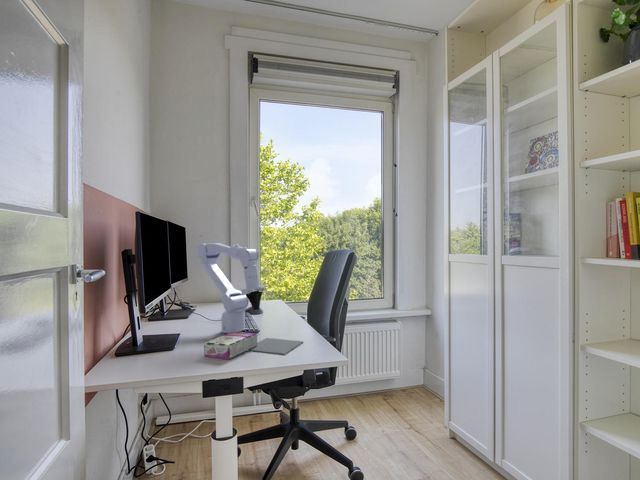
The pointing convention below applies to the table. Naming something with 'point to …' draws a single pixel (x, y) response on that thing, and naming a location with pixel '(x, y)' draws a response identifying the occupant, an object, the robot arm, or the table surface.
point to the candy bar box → (230, 344)
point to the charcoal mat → (276, 346)
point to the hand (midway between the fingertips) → (256, 309)
